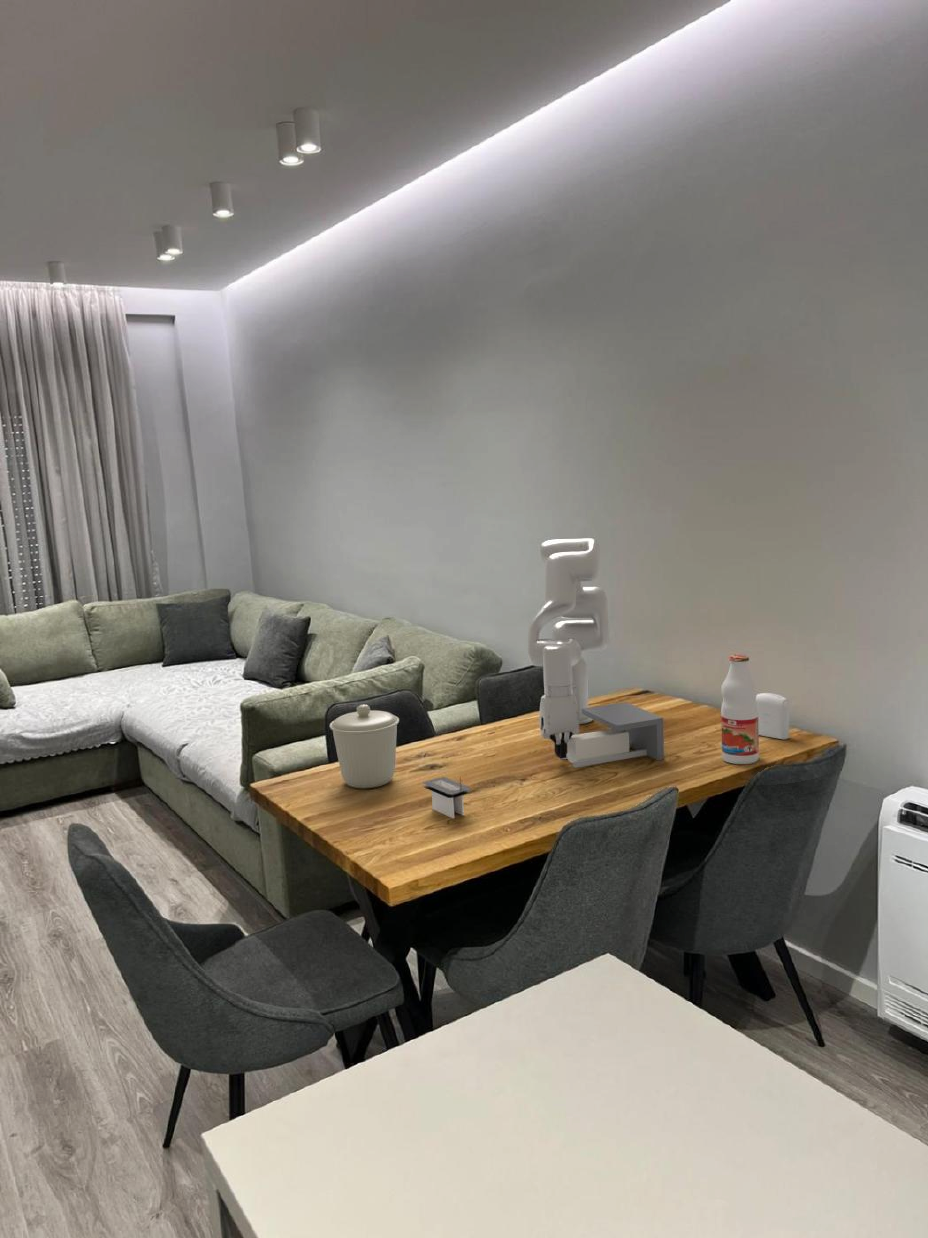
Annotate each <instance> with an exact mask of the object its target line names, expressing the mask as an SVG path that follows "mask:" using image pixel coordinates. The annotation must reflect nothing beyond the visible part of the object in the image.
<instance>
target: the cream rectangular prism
mask: <svg viewBox="0 0 928 1238" xmlns="http://www.w3.org/2000/svg"><path fill="white" fill-rule="evenodd" d="M567 752H568V759H567V762H570V763H571V764H573V761H579V760H584V759H590V758H596V757H601V756H607V755H613V754H618V753H624V752H630V748H629V732H628V731H626V730H620V731H616V730H614V729H612V728H609V729H604V730H602V729H601V730H597V731H592V732H584V733H577V734H575V735H572V737H571V738H570V739H569V742H568V743H567Z"/></svg>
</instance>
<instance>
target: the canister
mask: <svg viewBox="0 0 928 1238" xmlns="http://www.w3.org/2000/svg"><path fill="white" fill-rule="evenodd" d="M399 722H400V718H399V717H398V716H396V715H394V714H392V713H391V712H389V711H383V710H371V707H370V706H369V705H368V704H360V705H357V707H356V711H353V712H348V713H345V714H343V715H340V716H338V717H336V719H334V720H333V721H331V722H330V723H329V728H330V730H331V731H332V734H333V739H334V744H335V749H336V754H337V759H338V760H337V761H338V764H339V768H340V769H339V770H340V774H341V777H342V779H343V782H344V783H345V784H346V785H348V786H349V787H351V788H355V789H356V788H357V789H373V788H374V789H375V788H378V787H381V786H383V785H387V784H388V783H390V782H391V781H392V779H393V777H394V776H395V771H396V769H395V768H396V756H397V754H396V753H397V735H398V734H397V732H398V731H397V728H398V726H397V725H398V724H399Z"/></svg>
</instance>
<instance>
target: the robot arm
mask: <svg viewBox="0 0 928 1238" xmlns="http://www.w3.org/2000/svg"><path fill="white" fill-rule="evenodd" d="M540 556H541V559H542V561H543V563H544V564H545V598H544V599H545V602H544V604H543V606H542V607H541V608H540V609H539V610H538V611H537V612H536V613H535V614H534V616H533V618H532V620H531V622H530V625H529V629H528V635H527V636H528V640H527V655H528V656H527V657H528V660H529V662H530V664H531V665H532V666H534V667H542V670H543V687H544V689H543V690H544V691H543V692H544V695H542V696H541V698H540V703H539V717H538V718H539V719H538V720H539V721H538V722H539V723H538V725H539V731H541V734H540V736H541V737H540V738H543V739H546V740H550V741H552V742H553V743H554V754H555V755H556V757H557V758H558V759H560V760H561V759H562V758H566V754H567V752H568V742H569V739H570V738H571V737H572V735H577V734H580V729H579V728H580V725H583V724H588V723H590V722H592V721H593V719H591V718H589V717H587V716H585V715H583V714H582V709H583V708H589V691H588V690H589V689H588V687H589V686H588V665H587V663H586V661H585V659H584V658H583V656H582V652H586V651H587V652H589V651H590V652H591V651H592V652H593V651H597V652H598V651H604V650H606V649H607V648H608V647H609V642H610V630H609V629H610V627H609V626H610V625H609V611H608V597H607V594H606V592H605V589H603V588H602V587H600V586H583V585H582V582H593V581H595V580H596V579H597V577H598V574H599V570H600V562H601V546H600V543H599V542H598V541H597V540H596V539H595V538H566V539H565V538H563V539H549V540H545V541H544V542H542V543H541V545H540ZM557 618H562V619H573V620H562V621H561V620H560V621H558V622H556V623H555V624H554V625H553V627H552V629H551V638H539V637H540V633H541V630H543V627H544V626H545V625H547V624H548V623H549V622H552V620H554V619H557ZM574 619H575V620H574ZM577 619H578V620H577Z"/></svg>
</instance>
